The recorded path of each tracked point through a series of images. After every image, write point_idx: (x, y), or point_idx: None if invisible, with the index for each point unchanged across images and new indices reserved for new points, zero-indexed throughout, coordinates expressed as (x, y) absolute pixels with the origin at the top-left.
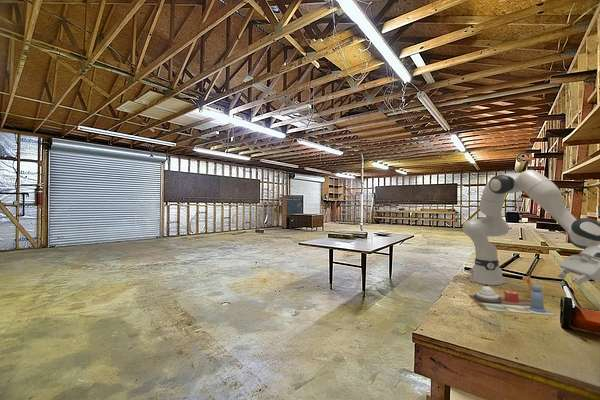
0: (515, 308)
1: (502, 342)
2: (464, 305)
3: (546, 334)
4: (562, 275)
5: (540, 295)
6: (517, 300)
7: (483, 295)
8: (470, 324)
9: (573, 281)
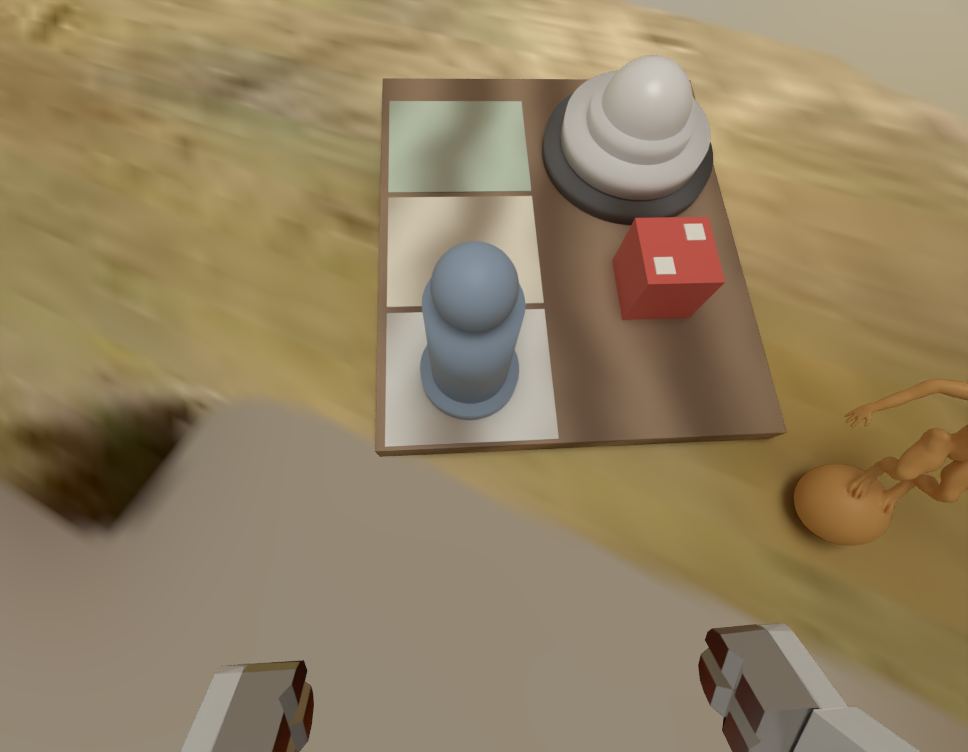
0: None
1: (8, 60)
2: (509, 51)
3: (109, 274)
4: (737, 691)
5: (424, 323)
6: (627, 305)
7: (586, 92)
8: (214, 9)
9: (286, 663)
